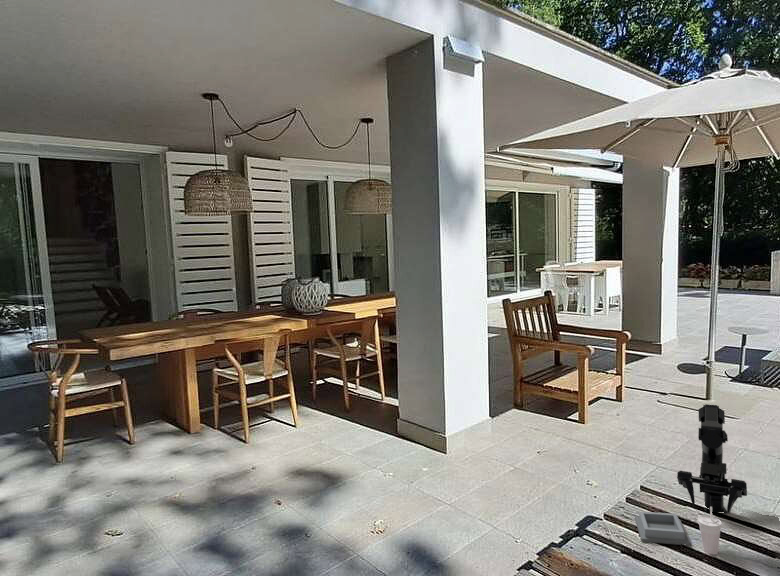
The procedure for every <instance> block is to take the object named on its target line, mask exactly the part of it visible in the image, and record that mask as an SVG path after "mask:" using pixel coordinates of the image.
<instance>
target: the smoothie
mask: <svg viewBox="0 0 780 576" xmlns="http://www.w3.org/2000/svg"><path fill="white" fill-rule="evenodd" d="M709 514H710V515H699V516H698V517H697V524H698V525H699V527H698V528H699V531H700V537H701V544H702V548H703V552H705V553H706V552H707V553H706V554H708V553H709V555H717V554H718V553H719V544H720V537H721V528H722V527H723V523H722V521H721V520H720V519H719V518H717V517H715V516H714V515H713V513H712V507H710V512H709Z"/></svg>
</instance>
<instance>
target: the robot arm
mask: <svg viewBox="0 0 780 576" xmlns="http://www.w3.org/2000/svg"><path fill="white" fill-rule="evenodd" d="M725 418H726V417H725V410H724V409H722V408H720V406H719V405H716V404H703V406H702V407H700V408H698V422H700V427H698V435H697V436H698V441H701V450H702V452H701V453H702V454H701V462H700V466H699V467H700V468H699V469H700V470H699V473H700V474H699V475H698V476H694V475H693V473H692V472H691V471H685V470H678V471H677V474H676V475H677V476H676V479H677V482H678V484H679V485H680V486H682V487H683V488H684V489H686V490H687V492H688V495H689V497H690V500H691V504H692V507H695V505H696V503H695V491H694V483H695V484H699V493H703V494H704V495H703V496H704V502H705V506H706V507H707V508H709V509H710V507H712V512H724V513H723V514H726V513H727V514H730V512H731V510H732V508H733V506H734V504H735V503H736V502H737V500H738V499H739V498H740V499H742V498H743V497H747V496H748V487H747V482H746V481H745V480H742V479H735V478H731V479H730V482H729V481H728V478H726V475H727V474H728V473H727V470H728V469H727V463H725V462H723V454H724V453H723V451H724V450H723V445H724V444H726V443H727V442H728V433H727V432H726V430H725V429H724V428H723V426H724V425H725V424H726V419H725ZM724 497H728V500H727V506H726V507H725V506H724V505H725V504H724V502H725V501H724V499H725V498H724ZM704 511H705V512H706V513H710V510H707V509H704Z"/></svg>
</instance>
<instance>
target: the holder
mask: <svg viewBox="0 0 780 576" xmlns="http://www.w3.org/2000/svg"><path fill="white" fill-rule="evenodd" d="M638 513H639V515H638V516H637V515H634V520H635V525H636V526H637V531H638V535H639V538H640V541H641V542H643V543H655V544H656V543H657V544H666V545H678V546H679V545H681V544H683V545H682V546H689V545H691V540H690V539H689V536H688V534H687V532H686V530H685V527H684V525H683V523H682V521H681V519H679V517H678V514H677V513H669V512H667V513H666V512H652V511H643V510H642V511H638ZM684 544H686V545H684Z"/></svg>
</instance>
